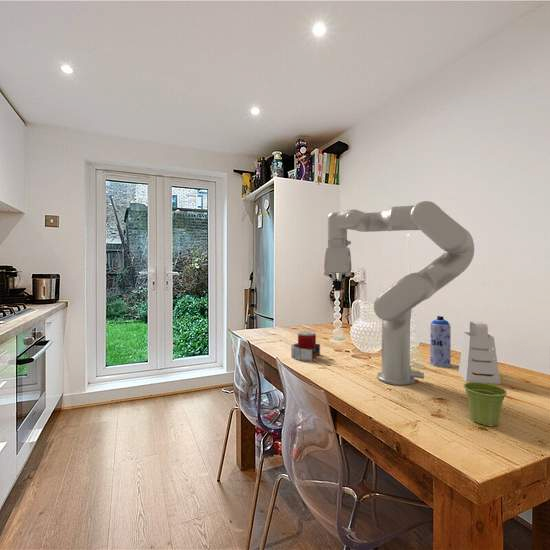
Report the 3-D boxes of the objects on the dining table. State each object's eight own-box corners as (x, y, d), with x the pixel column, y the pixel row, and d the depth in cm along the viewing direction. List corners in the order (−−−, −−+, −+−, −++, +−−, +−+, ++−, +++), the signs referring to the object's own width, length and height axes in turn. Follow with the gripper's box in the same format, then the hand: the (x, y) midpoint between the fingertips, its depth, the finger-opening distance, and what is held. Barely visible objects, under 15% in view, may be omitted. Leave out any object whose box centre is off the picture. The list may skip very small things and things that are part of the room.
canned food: (315, 359, 146) (315, 334, 145) (297, 358, 147) (297, 334, 147) (316, 355, 153) (316, 331, 153) (299, 354, 155) (298, 330, 154)
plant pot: (489, 413, 91) (489, 381, 91) (515, 429, 81) (516, 394, 81) (456, 413, 91) (456, 382, 90) (478, 430, 81) (478, 395, 81)
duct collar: (320, 354, 154) (320, 343, 154) (311, 361, 142) (311, 350, 142) (297, 352, 159) (297, 341, 159) (286, 358, 147) (286, 347, 147)
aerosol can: (426, 364, 137) (426, 316, 137) (435, 360, 142) (435, 314, 142) (445, 368, 131) (445, 318, 131) (454, 364, 136) (454, 316, 136)
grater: (489, 374, 124) (489, 321, 123) (500, 384, 114) (500, 325, 113) (458, 372, 126) (458, 320, 126) (466, 381, 116) (466, 324, 116)
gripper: (358, 244, 131) (358, 290, 131) (322, 245, 137) (322, 289, 138) (354, 243, 124) (354, 291, 125) (316, 244, 131) (316, 291, 131)
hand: (337, 290), depth 131 cm, fingers closed
